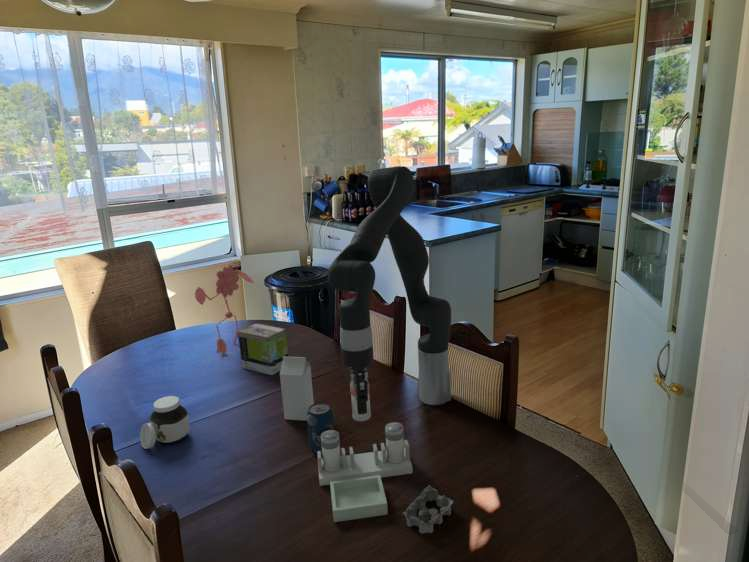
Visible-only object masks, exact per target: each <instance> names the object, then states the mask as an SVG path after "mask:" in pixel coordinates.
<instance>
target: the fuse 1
mask: <svg viewBox="0 0 749 562" xmlns="http://www.w3.org/2000/svg"><path fill="white" fill-rule="evenodd" d="M340 441H341V440H340V433H339V432H338V431H336V430H335V429H334V430H328V431H325V432H323V433H322V434H321V446H322V454H321V456H322V459H323V468H324V470H325V471H326V472H330V473H333V472H337V471H339V470H340V469H341V456H342V455H341V447H340V446H341V443H340Z"/></svg>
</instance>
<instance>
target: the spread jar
mask: <svg viewBox="0 0 749 562" xmlns="http://www.w3.org/2000/svg"><path fill="white" fill-rule="evenodd" d="M190 431H191V423H190V416H189V413H188V411H187V409H186V408H185V407H184V406H183V405H181V403H180V398H179V397H177V396H175V395H169V396H164V397H161V398H158V399H157V400H155V401H154V403H153V411H152V412H151V414H150V416H149V423H148V422H146V423H143V425H142V426H141V429H140V435H139V439H140V440H139V441H140V443H141V444H140V445H141V447H142V448H143V449H148V450H149V449H152V448H153V447H154V445H155V443H156V442H158V443H159V444H161V445H165V446H172V445H176V444H178V443H180V442H181V441H183V440H184V439H185V438H186V437H187V436H188V434H189V433H190ZM146 445H147V446H148V447H147V446H146Z"/></svg>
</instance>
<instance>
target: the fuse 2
mask: <svg viewBox="0 0 749 562" xmlns="http://www.w3.org/2000/svg"><path fill="white" fill-rule="evenodd" d="M384 433H385V434H384V436H385V449H386V452H387V461H388V462H389V463H391V464H399V463H402V462H403V461H404V440H405V439H404V437H405V435H404V434H405V433H404V425H403V424H402V423H400V422H397V421H396V422H395V421H394V422H388V423H387V424H385V427H384Z"/></svg>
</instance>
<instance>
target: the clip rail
mask: <svg viewBox="0 0 749 562" xmlns="http://www.w3.org/2000/svg"><path fill="white" fill-rule="evenodd" d="M403 440H404V461H403V462H402V463H399V464H391V463H389V462H388V461H387V452H386V444H385V443H384V442H380V450H378V447H377V443H372V448H373V449H372V452H371V451H370V452H363V453H356V454H354V449H353V446H349V447H348V449H349V454H348V455H346V450H345V447H340V452H341V455H340V456H341V469H340V470H339V471H337V472H333V473H330V472H326V471H325V470H324V468H323V458H322V454H321V451H317V453H316V455H317V467H318V469H317V470H318V480H319V481H318V482H319V486H321V487H323V486H328V485H329V486H330V482H332V481H340V480H347V479H354V478H362V477H369V476H377V475H380V476H381V479H382V478H388V477H394V476H395V477H396V476H404V475H410V474H413V470H414V469H413V463H412V462H411V454H410V453H411V451H410V443H409V442H408V439H403Z"/></svg>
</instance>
